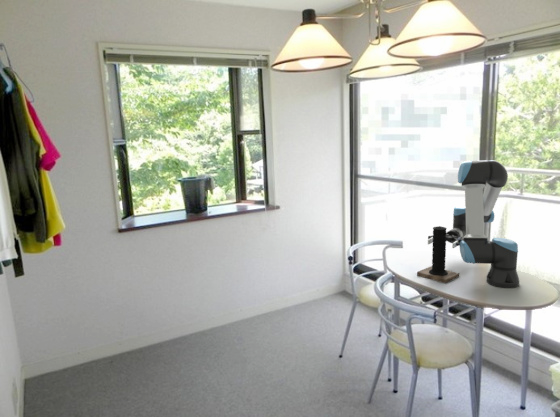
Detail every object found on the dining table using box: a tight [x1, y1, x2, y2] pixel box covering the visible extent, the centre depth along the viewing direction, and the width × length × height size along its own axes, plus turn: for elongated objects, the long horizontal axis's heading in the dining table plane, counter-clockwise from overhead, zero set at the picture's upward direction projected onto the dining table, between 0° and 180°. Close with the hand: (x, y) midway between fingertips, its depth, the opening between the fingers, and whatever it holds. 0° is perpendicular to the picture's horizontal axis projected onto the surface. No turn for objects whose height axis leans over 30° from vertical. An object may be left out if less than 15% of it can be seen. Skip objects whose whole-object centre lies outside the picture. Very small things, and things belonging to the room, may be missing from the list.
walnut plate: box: [416, 265, 460, 284], centre depth 222 cm, size 17×14×2 cm
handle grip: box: [429, 225, 448, 276], centre depth 219 cm, size 10×26×10 cm
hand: (440, 243), depth 221 cm, fingers open, 13 cm apart
